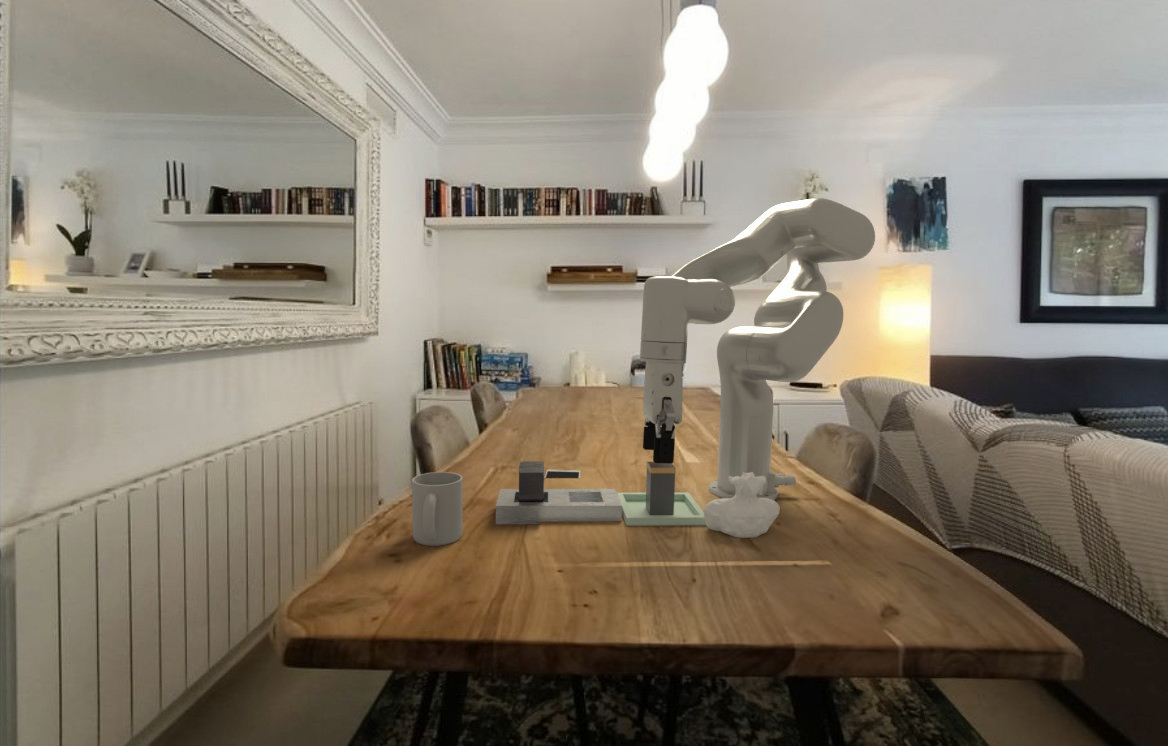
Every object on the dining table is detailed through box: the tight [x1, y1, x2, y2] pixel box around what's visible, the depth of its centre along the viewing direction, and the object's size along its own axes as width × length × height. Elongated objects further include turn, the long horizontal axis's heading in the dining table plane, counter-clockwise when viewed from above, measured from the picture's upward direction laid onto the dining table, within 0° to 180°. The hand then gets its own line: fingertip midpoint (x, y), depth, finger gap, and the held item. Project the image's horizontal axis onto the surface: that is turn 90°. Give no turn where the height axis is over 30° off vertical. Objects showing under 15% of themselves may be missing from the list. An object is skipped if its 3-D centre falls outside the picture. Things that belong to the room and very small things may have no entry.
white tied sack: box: [703, 472, 781, 539], centre depth 90 cm, size 12×8×11 cm
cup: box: [411, 471, 464, 547], centre depth 86 cm, size 7×10×9 cm
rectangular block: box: [645, 461, 677, 515], centre depth 99 cm, size 4×4×8 cm
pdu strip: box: [495, 460, 623, 525], centre depth 98 cm, size 20×9×8 cm, turn 94°
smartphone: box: [544, 469, 581, 479], centre depth 117 cm, size 7×16×1 cm, turn 179°
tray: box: [617, 491, 707, 526], centre depth 99 cm, size 13×13×2 cm
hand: (657, 455), depth 98 cm, fingers open, 9 cm apart
